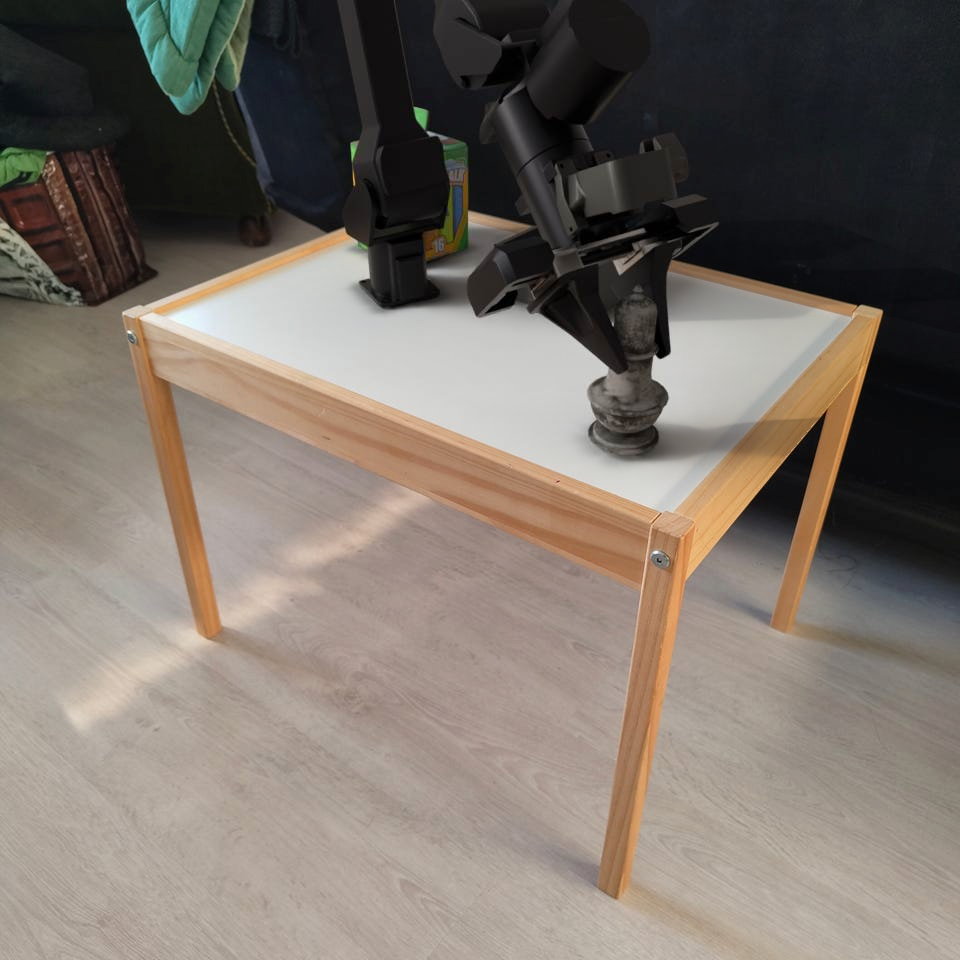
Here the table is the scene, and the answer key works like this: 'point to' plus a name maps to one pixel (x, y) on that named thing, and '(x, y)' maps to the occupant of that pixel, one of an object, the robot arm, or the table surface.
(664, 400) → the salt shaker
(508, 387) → the table surface
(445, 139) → the chalk box
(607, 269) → the basket
